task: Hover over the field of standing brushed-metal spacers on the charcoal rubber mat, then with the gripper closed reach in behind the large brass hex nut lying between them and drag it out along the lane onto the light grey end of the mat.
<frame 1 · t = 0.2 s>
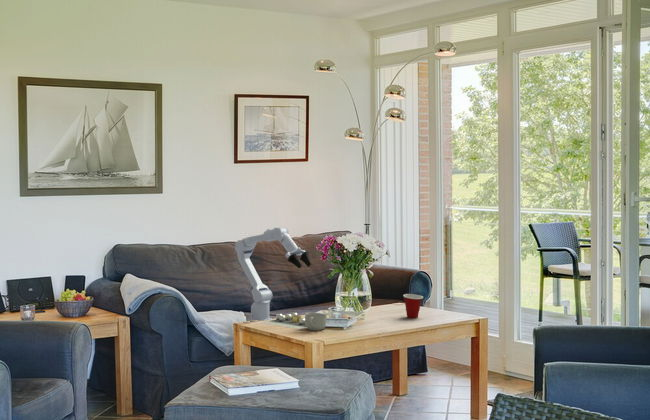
hand: (305, 266, 430), 30 cm above the table, tool tilted 45°, fingers open, 7 cm apart
plastic cup: (412, 317, 461), on the table
teacup: (314, 330, 422), on the table
spacers: (297, 322, 442), resting on mat
mat: (291, 323, 438), on the table
nut: (296, 321, 441), resting on mat
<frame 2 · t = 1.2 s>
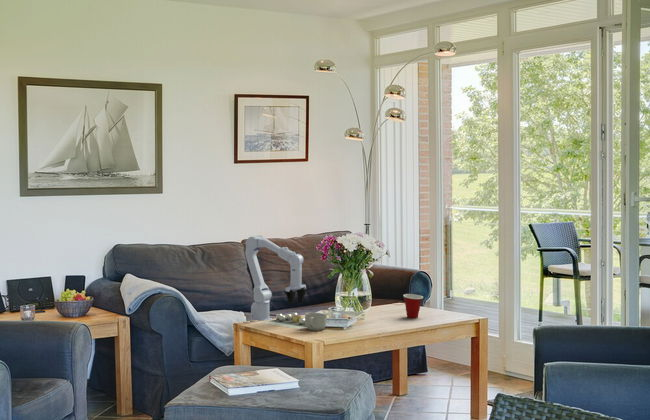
hand: (295, 303, 440), 10 cm above the table, tool pointing down, fingers open, 7 cm apart
nothing on the table moved.
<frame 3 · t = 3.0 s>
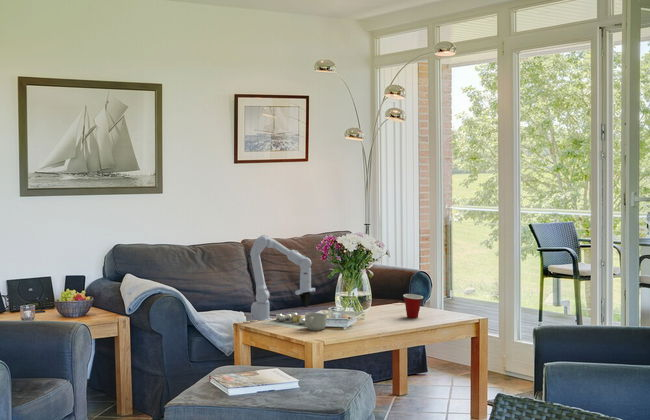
hand: (305, 306, 446), 7 cm above the table, tool pointing down, fingers closed
nothing on the table moved.
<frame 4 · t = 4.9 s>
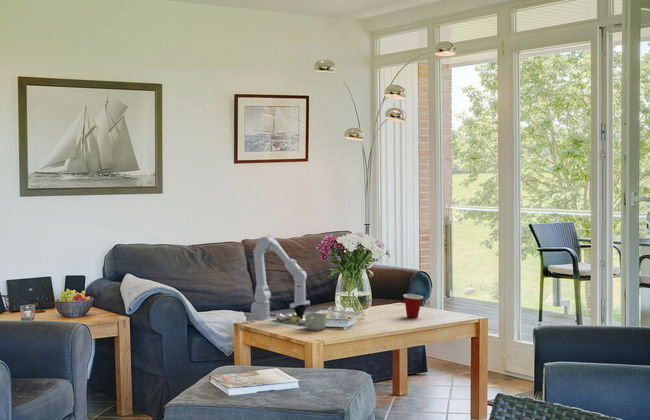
hand: (299, 319, 443), 1 cm above the table, tool pointing down, fingers closed
nut: (295, 322, 440), resting on mat, touching gripper
everything else where it was.
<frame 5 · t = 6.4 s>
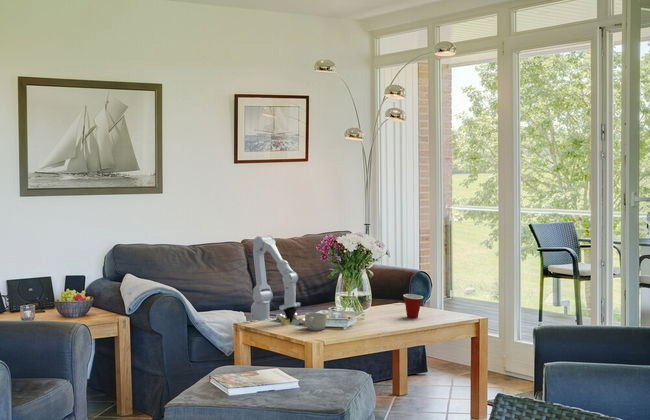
hand: (289, 322, 436), 1 cm above the table, tool pointing down, fingers closed
nut: (285, 324, 433), resting on mat
everything else where it was.
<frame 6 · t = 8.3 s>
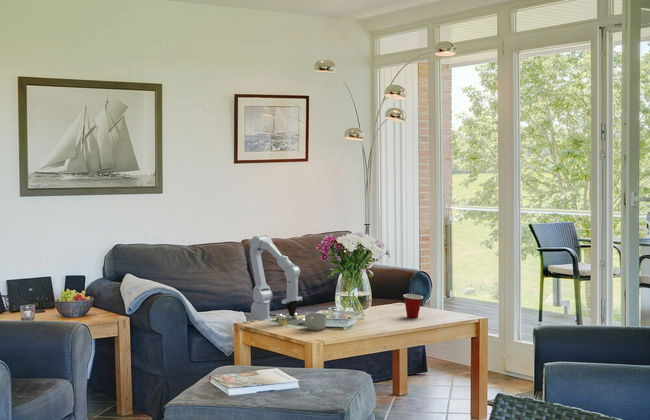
hand: (291, 316, 438), 4 cm above the table, tool pointing down, fingers closed
nut: (283, 325, 432), resting on mat
everything else where it was.
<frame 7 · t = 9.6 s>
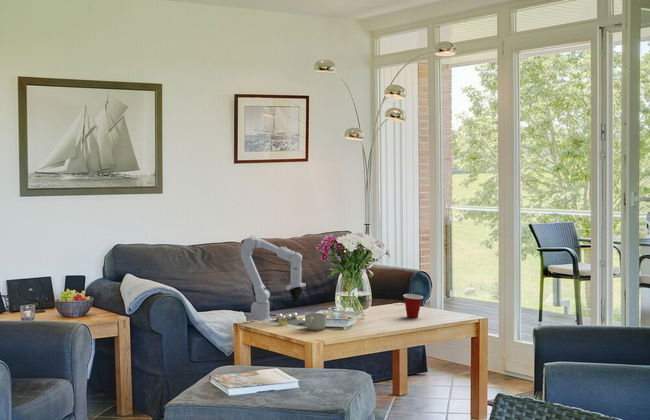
hand: (295, 301, 446), 10 cm above the table, tool pointing down, fingers closed
nothing on the table moved.
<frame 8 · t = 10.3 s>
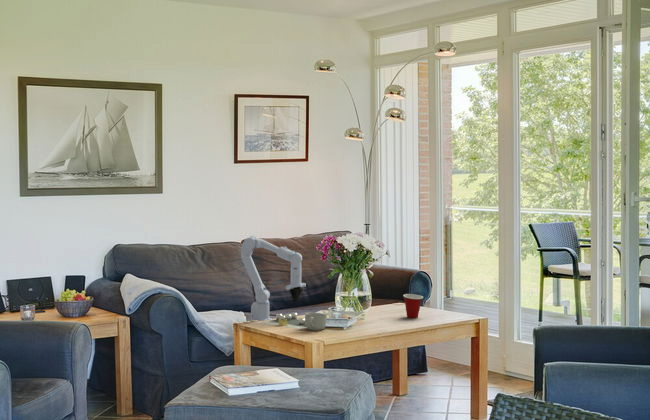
hand: (295, 301, 446), 10 cm above the table, tool pointing down, fingers closed
nothing on the table moved.
at the end: nut inside the target area (0.1 cm from its centre), resting on mat; nut tilted 0° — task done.
